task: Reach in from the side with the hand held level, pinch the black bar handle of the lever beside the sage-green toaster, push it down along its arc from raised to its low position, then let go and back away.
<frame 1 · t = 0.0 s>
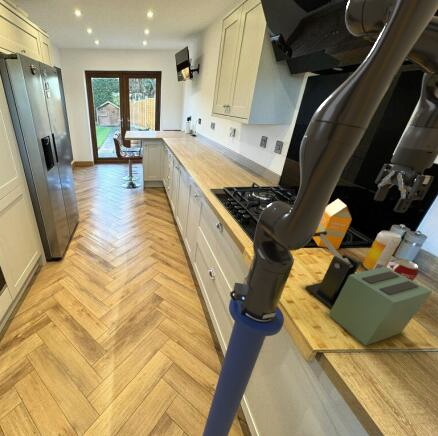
hand: (387, 205, 66), 30 cm above the worktop, tool pointing down, fingers open, 8 cm apart
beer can: (371, 268, 90), on the worktop
orange juice: (324, 243, 106), on the worktop
bracket: (328, 297, 75), on the worktop
soda can: (387, 292, 78), on the worktop
toaster: (363, 323, 66), on the worktop
lever: (332, 249, 72), point 15 cm above the worktop, hinge at 26.0°
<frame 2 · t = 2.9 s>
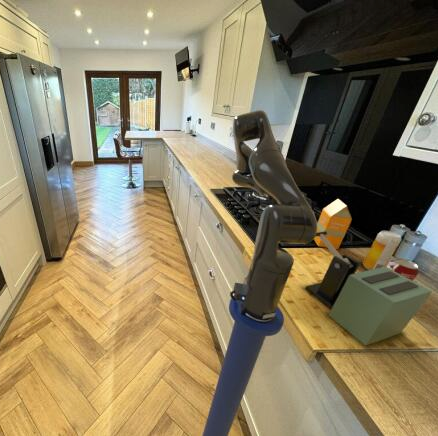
hand: (300, 204, 82), 24 cm above the worktop, tool horizontal, fingers open, 8 cm apart
nothing on the worktop moved.
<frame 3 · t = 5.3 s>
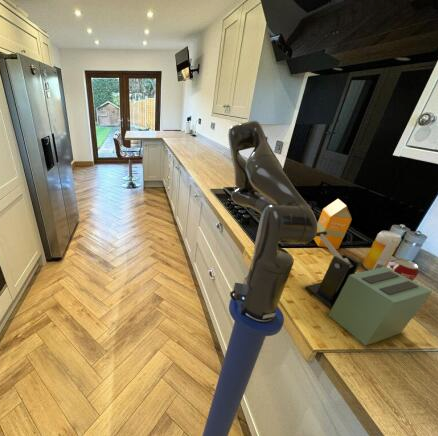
hand: (304, 226, 81), 18 cm above the worktop, tool horizontal, fingers open, 8 cm apart
nothing on the worktop moved.
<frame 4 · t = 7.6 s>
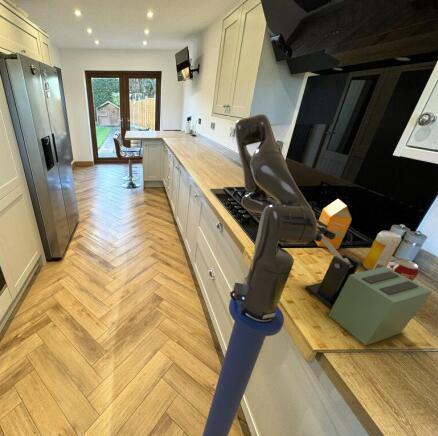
hand: (327, 238, 74), 18 cm above the worktop, tool horizontal, fingers closed on lever, 5 cm apart
lever: (332, 249, 72), point 15 cm above the worktop, hinge at 26.0°, touching gripper
everything else where it was.
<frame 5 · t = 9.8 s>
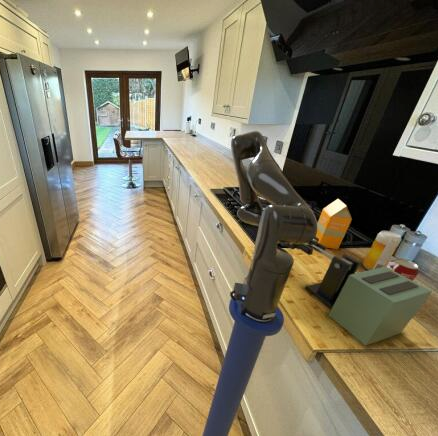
hand: (317, 251, 77), 12 cm above the worktop, tool horizontal, fingers closed on lever, 5 cm apart
lever: (327, 255, 74), point 13 cm above the worktop, hinge at -2.1°, touching gripper
everything else where it was.
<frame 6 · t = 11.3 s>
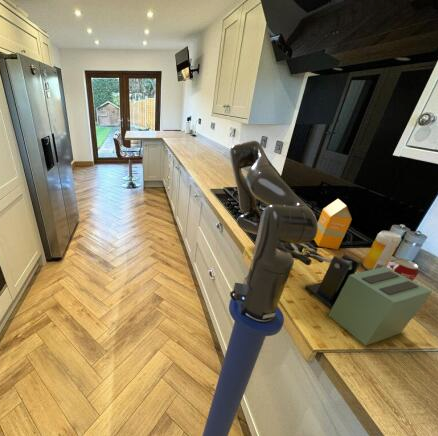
hand: (316, 261, 78), 9 cm above the worktop, tool horizontal, fingers closed on lever, 5 cm apart
lever: (326, 259, 74), point 11 cm above the worktop, hinge at -20.3°, touching gripper
everything else where it was.
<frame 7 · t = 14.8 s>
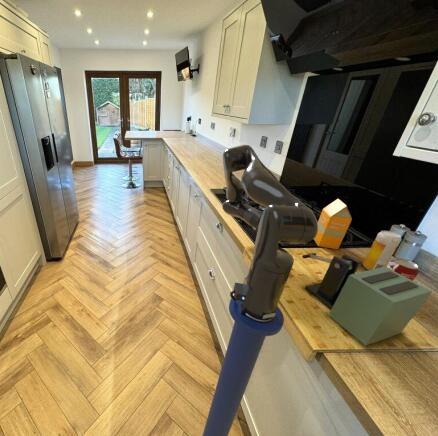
hand: (285, 237, 88), 10 cm above the worktop, tool horizontal, fingers open, 8 cm apart
lever: (326, 260, 74), point 11 cm above the worktop, hinge at -21.0°
everything else where it was.
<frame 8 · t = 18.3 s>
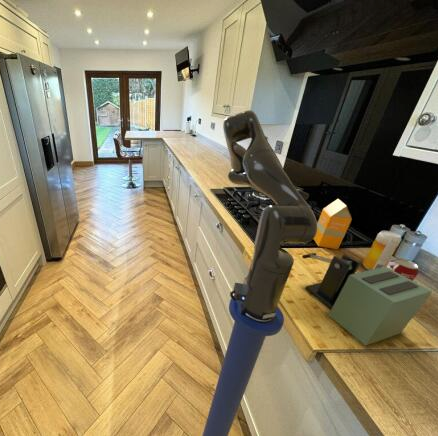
hand: (298, 197, 82), 26 cm above the worktop, tool horizontal, fingers open, 8 cm apart
nothing on the worktop moved.
at the end: lever at -21° (first picture: +26°); the gripper is holding nothing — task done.
